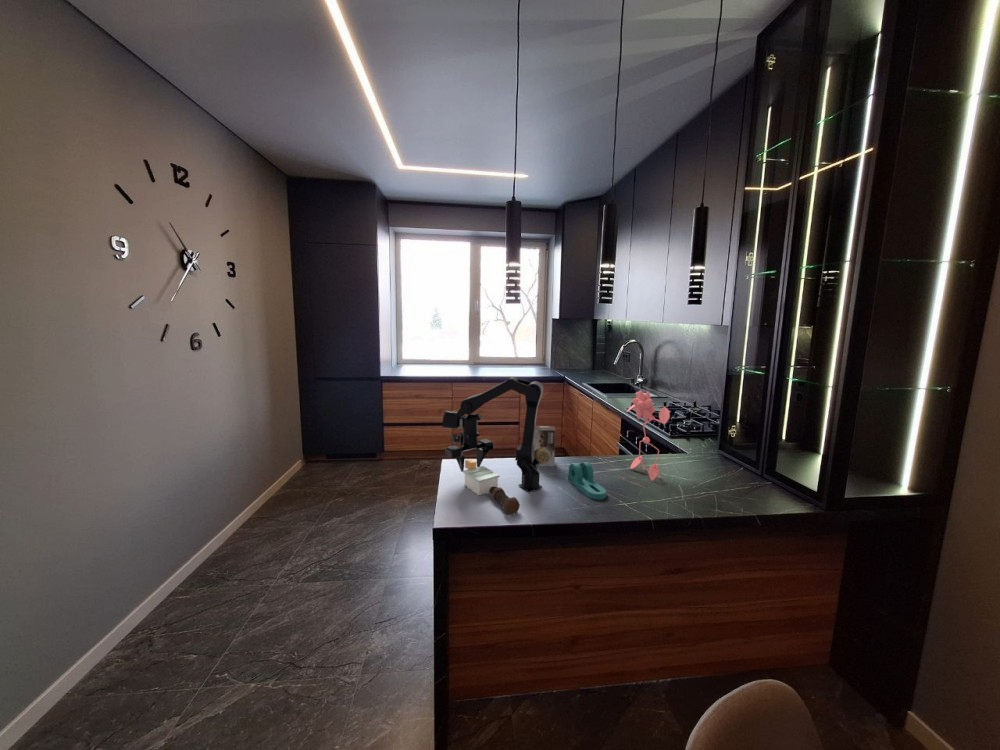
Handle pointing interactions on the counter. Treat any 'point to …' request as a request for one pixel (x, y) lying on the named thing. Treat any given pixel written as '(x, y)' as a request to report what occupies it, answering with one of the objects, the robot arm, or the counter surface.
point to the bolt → (504, 500)
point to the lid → (478, 472)
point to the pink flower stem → (645, 410)
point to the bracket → (585, 480)
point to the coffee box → (545, 445)
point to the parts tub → (480, 485)
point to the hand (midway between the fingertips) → (470, 469)
